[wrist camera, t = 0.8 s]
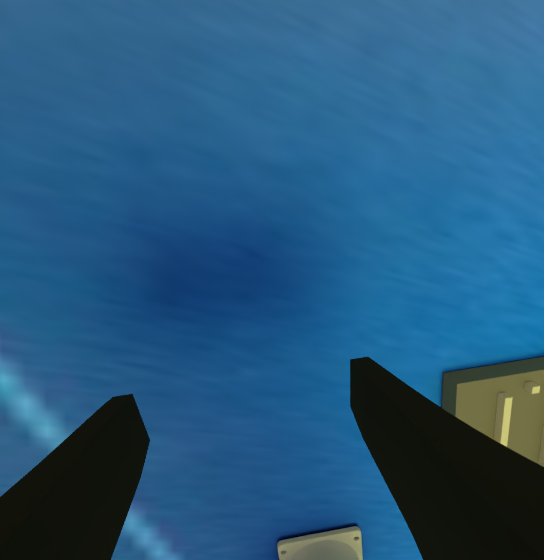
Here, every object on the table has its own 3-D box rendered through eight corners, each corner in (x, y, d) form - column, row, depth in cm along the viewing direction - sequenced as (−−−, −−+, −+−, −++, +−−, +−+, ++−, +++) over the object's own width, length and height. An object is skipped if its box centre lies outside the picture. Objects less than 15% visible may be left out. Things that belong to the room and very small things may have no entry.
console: (549, 508, 26) (575, 532, 24) (437, 530, 26) (453, 556, 24) (577, 350, 22) (610, 364, 20) (443, 372, 21) (463, 389, 19)
